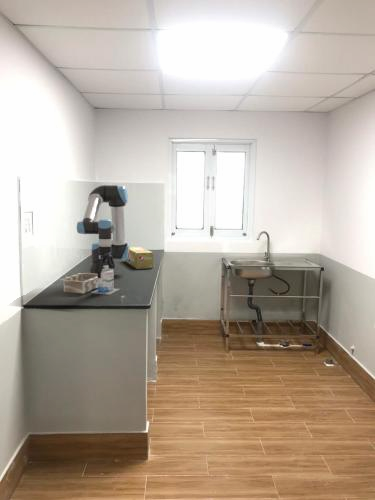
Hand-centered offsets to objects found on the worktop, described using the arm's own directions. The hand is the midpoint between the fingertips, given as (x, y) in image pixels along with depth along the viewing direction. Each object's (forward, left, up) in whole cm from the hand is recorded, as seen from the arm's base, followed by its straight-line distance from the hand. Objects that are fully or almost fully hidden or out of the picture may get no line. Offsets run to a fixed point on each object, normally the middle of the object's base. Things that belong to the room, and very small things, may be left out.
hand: (105, 281), depth 250 cm
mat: (0, 0, -6) cm, 6 cm away
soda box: (-95, -19, -7) cm, 97 cm away
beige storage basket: (-1, -16, -6) cm, 17 cm away
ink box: (0, 0, -6) cm, 6 cm away
